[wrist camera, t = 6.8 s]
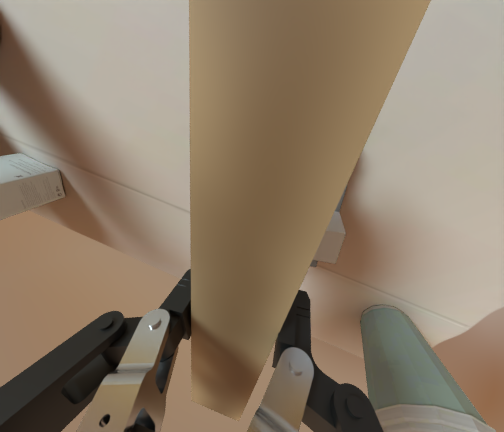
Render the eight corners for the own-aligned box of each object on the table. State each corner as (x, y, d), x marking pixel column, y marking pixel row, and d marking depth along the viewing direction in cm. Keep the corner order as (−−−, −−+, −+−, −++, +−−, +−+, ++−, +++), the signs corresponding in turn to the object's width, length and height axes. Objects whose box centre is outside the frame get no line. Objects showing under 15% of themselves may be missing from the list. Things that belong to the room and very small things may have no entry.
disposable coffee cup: (334, 307, 32) (352, 435, 19) (403, 284, 27) (490, 441, 14) (370, 343, 34) (408, 481, 21) (441, 328, 29) (548, 502, 16)
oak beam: (212, 347, 19) (191, 400, 15) (254, -6, 6) (188, -148, 3) (251, 363, 18) (238, 421, 15) (383, 8, 6) (496, -145, 2)
